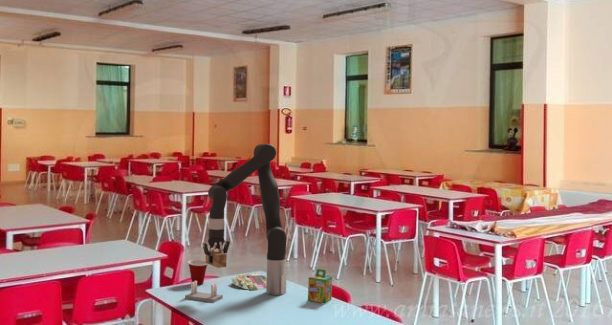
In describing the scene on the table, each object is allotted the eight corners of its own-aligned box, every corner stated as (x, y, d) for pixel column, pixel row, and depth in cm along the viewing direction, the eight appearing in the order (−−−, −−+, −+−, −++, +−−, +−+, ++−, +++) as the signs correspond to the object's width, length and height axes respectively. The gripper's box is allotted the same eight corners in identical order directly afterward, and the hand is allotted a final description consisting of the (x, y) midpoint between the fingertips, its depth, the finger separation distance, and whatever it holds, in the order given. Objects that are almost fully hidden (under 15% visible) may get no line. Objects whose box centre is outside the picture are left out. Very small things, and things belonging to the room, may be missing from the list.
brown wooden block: (213, 261, 295) (214, 249, 295) (226, 266, 284) (226, 254, 284) (205, 262, 292) (205, 250, 292) (217, 267, 282) (218, 255, 281)
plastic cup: (201, 287, 310) (202, 264, 310) (183, 285, 314) (183, 262, 314) (212, 282, 321) (212, 260, 320) (194, 280, 324) (194, 258, 324)
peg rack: (222, 298, 291) (222, 282, 291) (214, 302, 284) (214, 286, 284) (194, 294, 297) (194, 279, 297) (185, 298, 290) (185, 283, 290)
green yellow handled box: (307, 301, 288) (307, 270, 288) (314, 296, 297) (315, 267, 296) (325, 303, 285) (325, 272, 284) (332, 299, 293) (332, 269, 293)
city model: (247, 297, 301) (248, 286, 300) (220, 282, 318) (221, 271, 317) (285, 290, 318) (286, 279, 317) (258, 276, 335) (259, 266, 334)
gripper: (226, 225, 294) (225, 260, 295) (199, 227, 286) (198, 263, 287) (233, 227, 288) (232, 263, 289) (206, 229, 280) (205, 266, 281)
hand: (215, 262), depth 288 cm, fingers closed on brown wooden block, 4 cm apart
